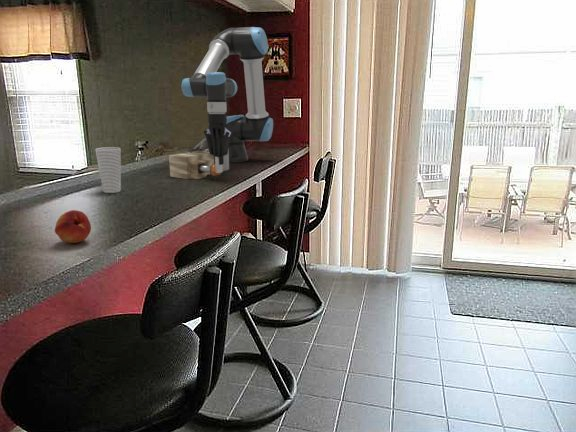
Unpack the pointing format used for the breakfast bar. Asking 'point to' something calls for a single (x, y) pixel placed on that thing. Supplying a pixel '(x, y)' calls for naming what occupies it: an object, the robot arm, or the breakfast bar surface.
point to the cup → (109, 168)
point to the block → (190, 164)
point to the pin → (208, 169)
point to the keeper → (200, 145)
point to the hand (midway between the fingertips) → (219, 172)
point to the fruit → (73, 227)
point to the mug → (226, 160)
